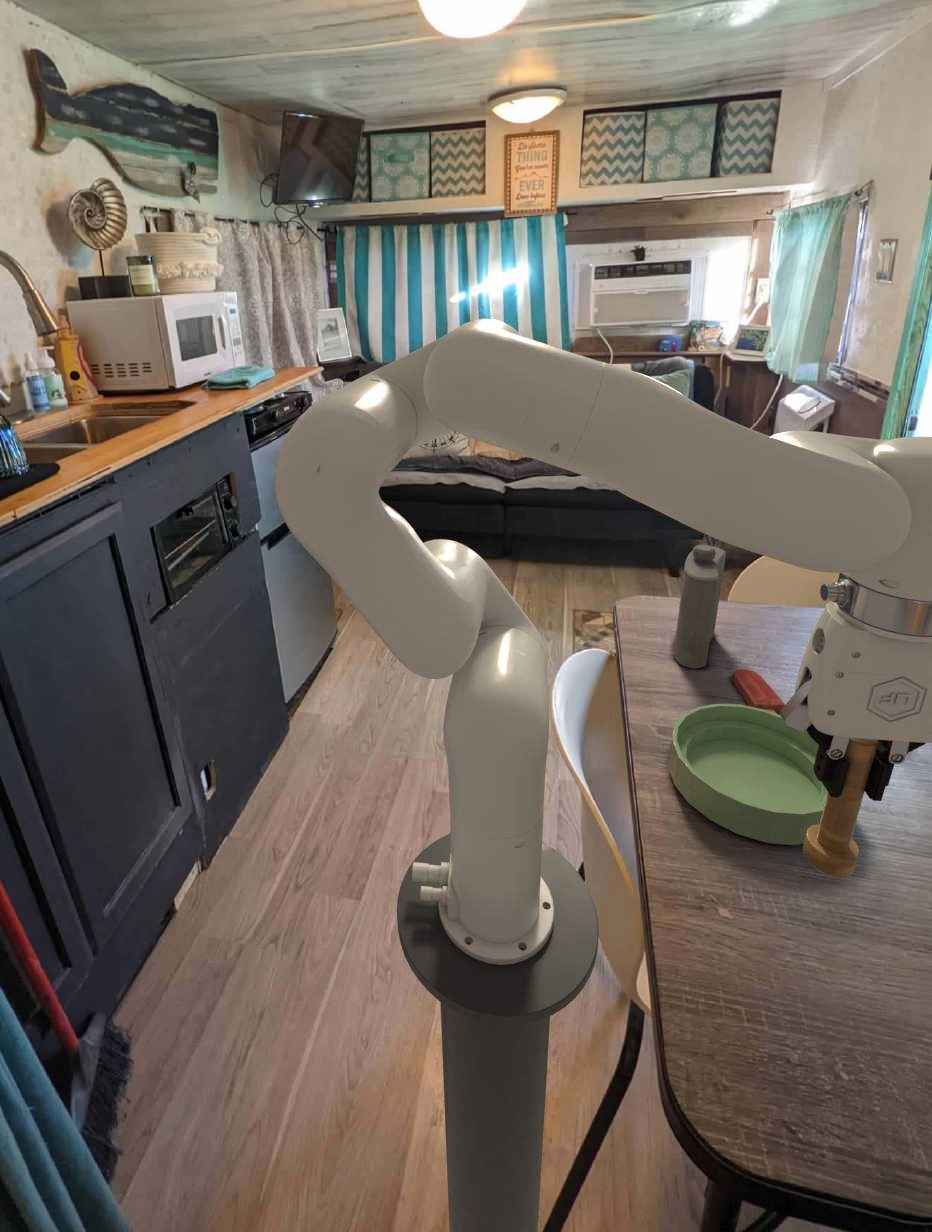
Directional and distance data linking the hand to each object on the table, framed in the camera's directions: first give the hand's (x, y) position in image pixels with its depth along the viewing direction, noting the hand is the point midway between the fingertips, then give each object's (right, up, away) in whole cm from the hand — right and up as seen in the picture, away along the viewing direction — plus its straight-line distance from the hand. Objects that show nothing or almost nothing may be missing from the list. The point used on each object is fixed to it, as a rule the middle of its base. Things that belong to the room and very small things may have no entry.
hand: (847, 785), depth 54 cm
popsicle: (+19, -6, +46) cm, 50 cm away
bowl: (+8, -13, +30) cm, 34 cm away
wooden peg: (0, -8, +3) cm, 9 cm away
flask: (+15, 0, +61) cm, 63 cm away
